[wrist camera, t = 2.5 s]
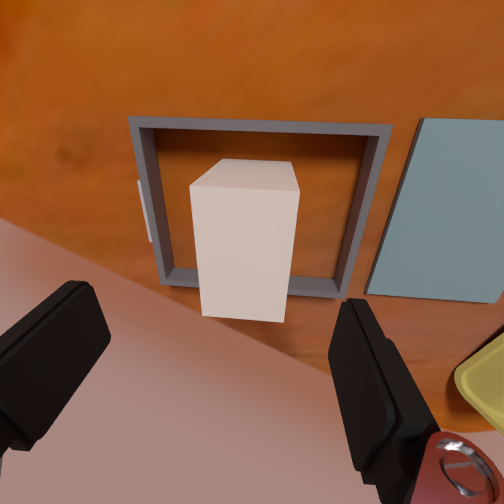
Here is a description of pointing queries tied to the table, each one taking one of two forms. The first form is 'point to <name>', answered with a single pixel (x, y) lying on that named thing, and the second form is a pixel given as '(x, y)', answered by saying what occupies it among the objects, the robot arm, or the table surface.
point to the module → (245, 237)
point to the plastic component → (485, 382)
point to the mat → (447, 216)
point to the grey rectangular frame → (147, 150)
